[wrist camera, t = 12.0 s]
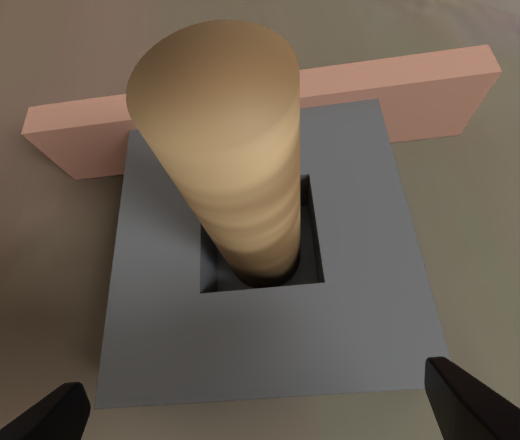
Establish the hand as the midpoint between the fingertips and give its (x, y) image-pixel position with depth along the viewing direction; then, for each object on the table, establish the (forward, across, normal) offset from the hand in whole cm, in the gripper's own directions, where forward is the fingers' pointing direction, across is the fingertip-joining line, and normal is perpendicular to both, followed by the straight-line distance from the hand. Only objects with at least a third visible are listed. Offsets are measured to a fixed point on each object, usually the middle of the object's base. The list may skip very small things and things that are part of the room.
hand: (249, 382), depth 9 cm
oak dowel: (+10, 0, +1) cm, 10 cm away
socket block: (+11, 0, +2) cm, 11 cm away
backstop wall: (+16, 0, -4) cm, 17 cm away
